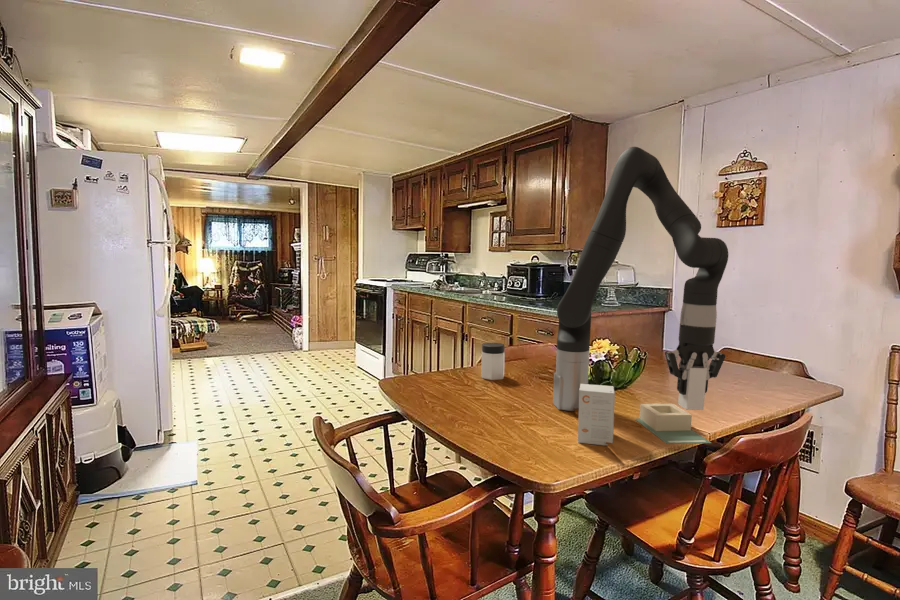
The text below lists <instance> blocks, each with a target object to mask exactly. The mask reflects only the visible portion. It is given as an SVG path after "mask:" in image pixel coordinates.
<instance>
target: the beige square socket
mask: <svg viewBox="0 0 900 600" xmlns="http://www.w3.org/2000/svg"><path fill="white" fill-rule="evenodd" d="M639 406H640V407H639V418H640V419H641V420H642V421H644V422H645V423H646V424H648V425H649V426H650V427H652V428H653V429H654V430H655V431H683V430H692V416H693V415H692V414H691V413H689V411H687V410H684V408H682V407H679V406H678V405H676V404H674V403H659V402H653V403H640V405H639Z"/></svg>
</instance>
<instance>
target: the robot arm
mask: <svg viewBox="0 0 900 600" xmlns="http://www.w3.org/2000/svg"><path fill="white" fill-rule="evenodd" d="M634 188H636V189H638V190H639V191H641V192H642V193H643V194H644V195H645V196H647V198H649V200H650V201H651V203H652V205H653V207H654V210H655V213H656V215H657V217H658V220H659V221H660V223H661V225H662V226H663V228H664V229H665V230H666V231H667V233H668V234H669V236H670V237H671V239H672V242H673V246H674V248H675V252H676V253H677V258H679V260H680V262H681V263H683V264H684V265H685V266H687V267H689V268H692V269H698V270H697V273H696V275H695V276H694V277H692V278H688V279H687V280H686V281H685V283H684V285H683V296H682V297H683V298H682V304H681V305H682V307H681V309H680V310H681V311H680V317H679V320H680V321H679V330H678V345H677V346H676V349H675V350H671V351H669V350H666V351H665V352H664V355H665V358H666V363H667V368H668V372H669V374H670V375H671V376H674V377H676V378H677V382H676V383H677V385H676V389H677V391H678V394H679V393H680V394H682V395H686V389H687V380H686V379H687V376H688V371H689V370H690V368H692V366H695V365H697V366H703V367H704V368H707V376H706V387H705V394H707V392H708V387H709V380H710V379H712V378H717V377H718V375H719V373H720V370H721V368H722V366H723V364H724V361H725V359H726V354H724V353H723V352H721V351H720V352H719V351H715V349H714V344H715V340H716V339H715V337H716V327H717V319H718V318H717V316H718V315H717V313H718V312H717V304H718V303H717V302H718V289H719V287H720V283H721V281H722V278H723V275H724V273H725V271H726V268H727V264H728V261H729V249H728V246H727V244H726V242H725V241H723V240H722V239H721V238H717V237H702V236H700V235H699V233H701V230H702V224H701V221H700V220H699V218H698V217H697V216H696V215H695V213H694V212H693V210H692V209H691V208H690V207H689V206H688V204H686V202H685V201H684V200H683V199H682V198H681V196H680V195H679V193H678V192H677V191H676V190H675V188H674V187H673V185H672V184H671V182H670V180H669V178H668V175H667V174H666V173H665V170H664V168H663V166H662V163H660V160H659V159H658V158H657V157H655V155H653V154H651V153H650V152H648V151H646V150H644V149H643V148H641V147H638V146H631V147H628V148H627V149H625V150H624V151H622V153H621V154H620V156H618V158H617V160H616V163H615V165H614V168H613V171H612V173H611V176H610V179H609V183H608V185H607V189H606V192H605V195H604V197H603V201H602V202H601V206H600V207H599V209H598V213H597V215H596V218H595V220H594V222H593V224H592V227H591V228H590V231H589V233H588V235H587V237H586V240H585V241H584V245H583V248H582V251H581V253H580V256H579V259H578V262H577V265H576V269H575V273H574V275H573V278H572V280H571V282H570V283H569V285H568V287H567V289H566V292H565V293H564V294H563V296H562V298H561V299H560V301H559V302H558V305H557V307H556V316H557V318H558V330H557V339H556V359H555V362H556V365H555V372H553V388H552V389H553V390H552V391H553V393H552V404H553V405H554V406H555V408H556V409H557V410H561V411H569V412H575V409H576V410H577V409H578V410H579V389H580V384H589V372H590V371H589V370H590V369H589V366H590V364H589V363H590V344H591V343H590V342H591V329H592V328H591V326H592V307H593V304H594V301H595V299H596V298H595V297H596V294H597V292H598V289H599V287H600V286H601V284H602V281H603V279H604V278H605V277H606V275H607V274H608V273H609V271H610V269H611V267H612V265H613V263H614V261H615V260H616V258H617V255H618V253H619V251H620V250H621V247H622V244H623V242H624V240H625V237H626V232H627V206H628V201H629V198H630V195H631V193H632V190H633V189H634ZM679 358H680V360H679V364H678V361H677V360H678V359H679ZM710 359H711V360H710ZM709 360H710V361H711V362H709ZM685 364H686V366H685Z"/></svg>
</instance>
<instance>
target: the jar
mask: <svg viewBox="0 0 900 600" xmlns="http://www.w3.org/2000/svg"><path fill="white" fill-rule="evenodd" d="M505 349H506V348H505V344H504V343H501V342H484V343H482V344H481V361H480V362H481V363H480V364H481V366H480V367H481V369H480V373H481V374H480V375H481V376H480V378H481V379H483V380H484V379H486V380H489V381H499V380H503V379H504V378H505Z"/></svg>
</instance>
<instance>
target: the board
mask: <svg viewBox="0 0 900 600" xmlns="http://www.w3.org/2000/svg"><path fill="white" fill-rule="evenodd" d="M634 420H635V421H636V422H638V423H639V424H640V425H642V426H643V427H644V428H645V429H647V430H648V431H650V433H652V434H653V435H654V436H656V437H657V438H658V439H660V440H661V441H662V442H664V444H666V445H686V444H687V445H688V444H689V445H690V444H712V442H711V441H710V440H708V439H706V438H705V437H704V436H703V435H700V434H699V433H698V432H696V431H694V430H693V429H691V430H683V431H655V430H654V429H653V428H652V427H650V426H649V425H648V424H646V423H645V422H644V421H642V420H641V419H640V417H639V418H634Z"/></svg>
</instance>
